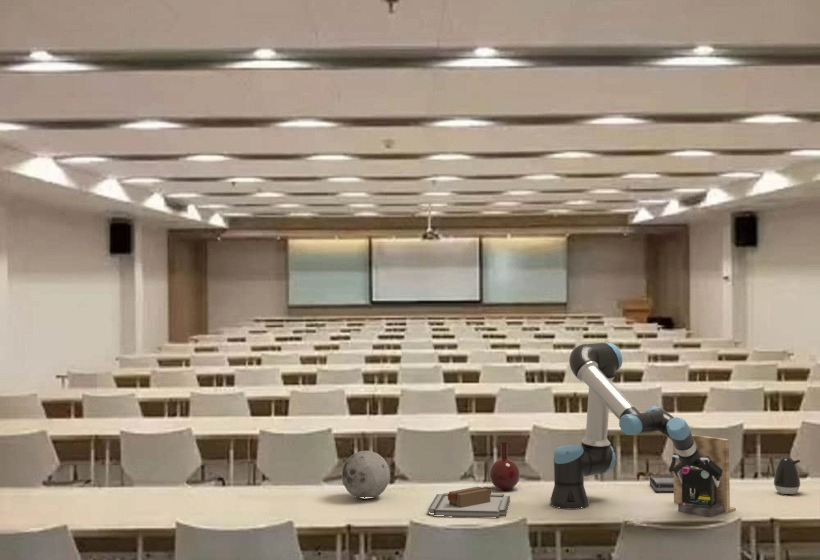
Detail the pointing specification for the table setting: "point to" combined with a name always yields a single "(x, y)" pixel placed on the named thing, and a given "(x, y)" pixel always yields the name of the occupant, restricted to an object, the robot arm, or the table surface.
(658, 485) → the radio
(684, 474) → the tampon box
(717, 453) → the board
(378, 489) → the moon model
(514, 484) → the round-bottom flask
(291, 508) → the table surface
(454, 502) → the grey tray with block
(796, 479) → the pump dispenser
